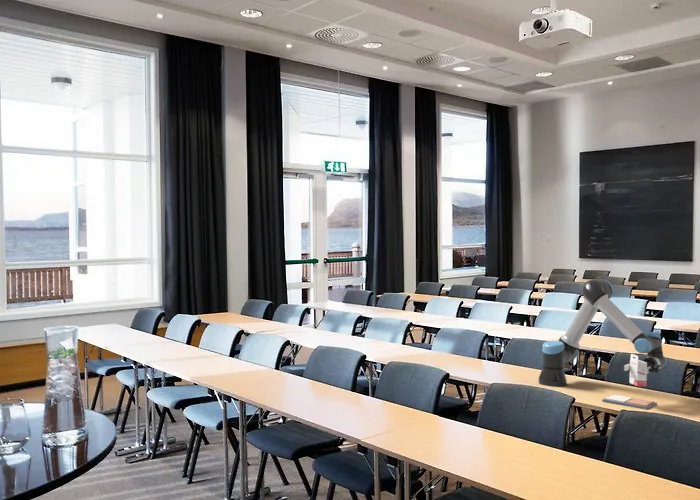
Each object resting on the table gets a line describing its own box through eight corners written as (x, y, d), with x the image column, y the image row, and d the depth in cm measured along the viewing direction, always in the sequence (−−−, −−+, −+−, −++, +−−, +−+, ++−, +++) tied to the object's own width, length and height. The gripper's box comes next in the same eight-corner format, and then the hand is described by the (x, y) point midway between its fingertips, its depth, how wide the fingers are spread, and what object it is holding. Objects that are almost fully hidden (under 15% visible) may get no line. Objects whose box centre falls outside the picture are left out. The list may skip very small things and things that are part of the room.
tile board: (602, 401, 309) (602, 398, 309) (613, 397, 320) (613, 393, 320) (646, 409, 295) (646, 406, 295) (656, 404, 306) (656, 401, 306)
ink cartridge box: (647, 386, 301) (648, 356, 301) (637, 386, 301) (637, 356, 301) (638, 383, 310) (639, 353, 310) (628, 382, 309) (629, 353, 310)
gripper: (672, 374, 311) (658, 380, 295) (628, 368, 326) (612, 373, 309) (673, 360, 311) (659, 365, 295) (628, 354, 326) (612, 358, 309)
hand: (635, 369), depth 302 cm, fingers closed on ink cartridge box, 9 cm apart
